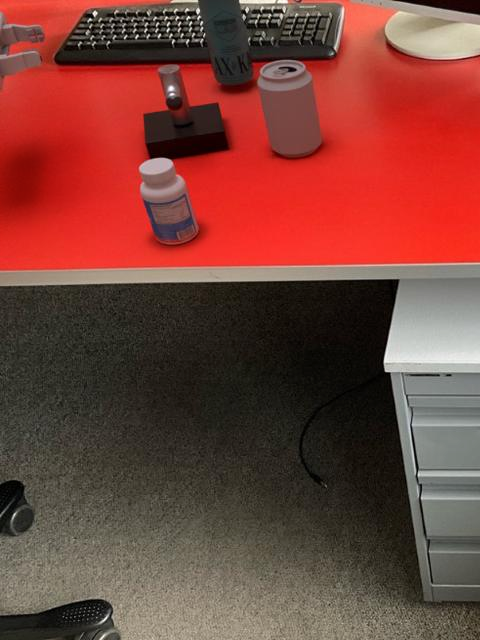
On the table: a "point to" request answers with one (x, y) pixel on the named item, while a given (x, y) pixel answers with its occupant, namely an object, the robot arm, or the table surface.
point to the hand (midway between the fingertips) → (41, 44)
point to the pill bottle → (167, 202)
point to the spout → (175, 94)
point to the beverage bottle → (227, 41)
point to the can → (289, 108)
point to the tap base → (185, 133)
